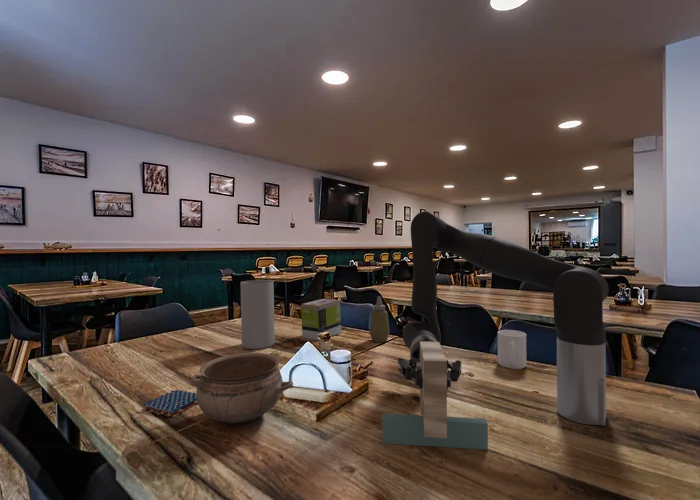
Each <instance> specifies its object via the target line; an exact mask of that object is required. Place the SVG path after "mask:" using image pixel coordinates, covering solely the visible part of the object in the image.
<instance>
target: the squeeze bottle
mask: <svg viewBox="0 0 700 500" xmlns="http://www.w3.org/2000/svg"><path fill="white" fill-rule="evenodd" d="M388 313H389V312H388V311H387V310H386V305H385V304H383V301H382V296H380V295H379V296H377V298H376V302H375V304H373V310H372V311H371V312H370V322H369V323H370V324H369V334H370V337H371V340H372V341H373V342H374V343H385V342H387V340H388V338H389V334H390V325H389V324H390V323H389V315H388Z"/></svg>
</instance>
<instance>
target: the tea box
mask: <svg viewBox="0 0 700 500" xmlns="http://www.w3.org/2000/svg"><path fill="white" fill-rule="evenodd" d="M300 306H301V307H300V311H301V334H302V335H301V336H302V337H301V338H303V339H308V340H312V341H319V339H318V334H320V333H323V332H329V333H331V334H332V336H335V335H338V334H341V333H342V318H341V315H342V314H341V300H339V299H331V298H330V299H328V298H321V299H317V300H313V301H308V302H304V303H301V304H300ZM332 336H331V337H332Z"/></svg>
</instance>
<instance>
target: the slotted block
mask: <svg viewBox="0 0 700 500" xmlns="http://www.w3.org/2000/svg"><path fill="white" fill-rule="evenodd" d="M447 360H448V359H447V358H446V356H445V353H444V351H443V349H442V345H441V342H440V343H439V342H429V341H420V362H421V371H422V376H423V388H419V407H420V415H423V431H424V437H436V438H447V417H448V390H447Z"/></svg>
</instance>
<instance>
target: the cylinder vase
mask: <svg viewBox="0 0 700 500" xmlns="http://www.w3.org/2000/svg"><path fill="white" fill-rule="evenodd" d="M274 287H275V286H274V280H272V279H271V280H270V279H255V280H252V279H251V280H244V281H240V319H241V320H240V321H241V325H240V326H241V328H240V329H241V346H242V347H243V348H245V349H248V350H261V349H267V348H270V347H272V346H273V345H274V344H275V337H276V336H275V295H274V293H275V291H274V290H275V289H274Z"/></svg>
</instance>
